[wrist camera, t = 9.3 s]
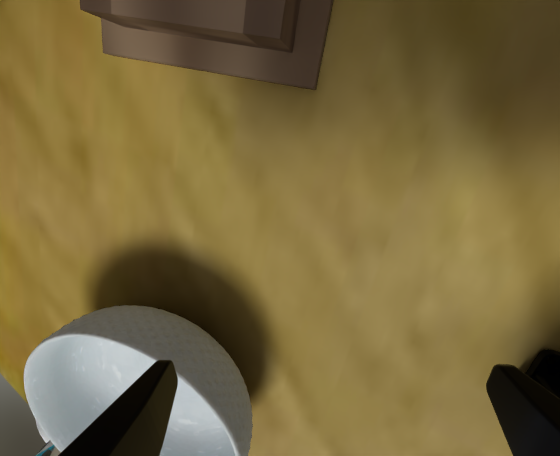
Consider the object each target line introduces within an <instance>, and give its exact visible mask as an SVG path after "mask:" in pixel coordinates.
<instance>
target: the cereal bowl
mask: <svg viewBox="0 0 560 456" xmlns="http://www.w3.org/2000/svg"><path fill="white" fill-rule="evenodd" d="M158 360H171V361H172V362H173V364H174V367H175V370H176V374H177V377H178V386H177V390H176V394H175V398H174V403H173V407H172V411H171V415H170V419H169V423H168V427H167V431H166V435H165V439H164V442H163V446H162V449H161V452H160V455H159V456H248V452H249V449H250V441H251V438H252V427H253V426H252V425H253V424H252V406H251V403H250V398H249V394H248V391H247V387H246V385H245V383H244V379H243V377H242V376H241V374H240V371H239V369H238V367H237V366H236V365H235V363H234V361H233V360H232V358H231V357H230V356H229V354H228V353H227V352H226V351H225V349H224V348H223V347H222V346H221V345H220V344H219V343H218V342H217V341H216V340H215V339H214V338H212V337H211V336H210V334H208V333H207V332H206V331H204V330H202V329H201V328H200V327H199V326H197V325H196V324H194V323H192V322H190V321H188V320H186V319H185V318H182V317H180V316H178V315H176V314H173V313H170V312H167V311H165V310H162V309H157V308H153V307H147V306H137V305H132V306H128V305H123V306H113V307H110V308H103V309H101V310H96V311H93V312H92V313H90V314H87V315H83V316H82V317H80V318H78V319H75V320H73V321H72V322H71V323H69V324H67V325H65V326H63V327H62V328H61V329H60V330H58V331H56V332H55V333H53V334H52V335H50V336H49V337H48V338H46V339H44V340H43V341H42V342H41V343H40V344H39V345H38V346H37V347H36V348H35V349H34V351H33V352H32V353H31V354H30V356H29V358H28V360H27V362H26V366H25V370H24V388H25V393H26V397H27V401H28V403H29V406H30V408H31V410H32V413H33V415H34V417H35V419H36V421H37V422H38V424H39V426H40V427H41V429H42V430H43V431H44V433H45V434H46V436H47V437H48V438H49V439H50V441H51V442H52V443H53V444H54V446H55V447H56V448H57V449H58V450H59V451H60V452H62V451H63V450H64V449H65V448H66V447H67V446H68V445H69V444H70V443H71V442H72V441H73V440H75V439H76V438H77V437H78V436H79V435H80V434H81V433H82V432H83V431H84V430H85V429H86V428H87V427H88V426H89V425H90V424H91V423H92V422H93V421H94V420H95V419H96V418H97V417H98V416H100V415H101V414H102V413H103V412H104V411H105V410H106V409H107V408H108V407H109V406H110V405H111V404H112V403H113V402H114V401H115V400H116V399H117V398H118V397H119V396H120V395H121V394H122V393H123V392H125V391H126V390H127V389H128V388H129V387H130V386H131V385H132V384H133V383H134V382H135V381H136V380H137V379H138V378H139V377H140V376H141V375H142V374H143V373H144V372H145V371H146V370H147V369H148V368H150V367H151V366H152V365H153V364H154V363H155V362H156V361H158Z"/></svg>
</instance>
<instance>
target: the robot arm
mask: <svg viewBox="0 0 560 456" xmlns="http://www.w3.org/2000/svg"><path fill="white" fill-rule="evenodd" d="M550 357H552V358H550ZM548 358H550V359H548ZM177 386H178V377H177V374H176V370H175V367H174V364H173V362H172V361H171V360H158V361H156V362H155V363H154V364H153V365H152V366H151V367H150V368H148V369H147V370H146V371H145V372H144V373H143V374H142V375H141V376H140V377H139V378H138V379H137V380H136V381H135V382H134V383H133V384H132V385H131V386H130V387H129V388H128V389H127V390H126V391H125V392H123V393H122V394H121V395H120V396H119V397H118V398H117V399H116V400H115V401H114V402H113V403H112V404H111V405H110V406H109V407H108V408H107V409H106V410H105V411H104V412H103V413H102V414H101V415H100V416H98V417H97V418H96V419H95V420H94V421H93V422H92V423H91V424H90V425H89V426H88V427H87V428H86V429H85V430H84V431H83V432H82V433H81V434H80V435H79V436H78V437H77V438H76V439H75V440H73V441H72V442H71V443H70V444H69V445H68V446H67V447H66V448H65V449H64V450H63V451H62V452H61V453H60V454H59V455H58V456H159V455H160V452H161V449H162V446H163V442H164V439H165V435H166V431H167V427H168V423H169V419H170V415H171V411H172V407H173V403H174V398H175V394H176V390H177ZM486 389H487V393H488V395H489V398H490V400H491V403H492V405H493V408H494V410H495V413H496V415H497V418H498V420H499V423H500V425H501V427H502V430H503V432H504V435H505V437H506V440H507V442H508V445H509V447H510V449H511V452H512V454H513V456H560V352H558V351H554V350H549V349H548V350H543V351H541V352H540V353H539V354H538V356H537V358H536V359H535V361H534V362H533V364H532V365H531V367H530V368H529V370H528V371H527V373H526V374H525V373H523V372H522V371H521V370H519V369H518V368H516V367H515V366H513V365H508V364H497V365H495V366H494V367H493V369H492V371H491V374H490V376H489V378H488V381H487V383H486Z"/></svg>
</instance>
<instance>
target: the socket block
mask: <svg viewBox="0 0 560 456" xmlns="http://www.w3.org/2000/svg"><path fill="white" fill-rule="evenodd" d="M332 5H333V0H80V9H81V10H83V11H85V12H88V13H90V14H93V15H95V16H98V17H100V18H101V23H102V42H103V53H105V54H109V55H113V56H118V57H124V58H130V59H136V60H142V61H148V62H154V63H159V64H165V65H171V66H177V67H183V68H189V69H195V70H201V71H207V72H212V73H218V74H224V75H230V76H236V77H242V78H248V79H254V80H259V81H265V82H271V83H277V84H283V85H289V86H295V87H301V88H306V89H312V90H316V87H317V82H318V77H319V72H320V66H321V61H322V56H323V51H324V46H325V41H326V35H327V30H328V25H329V20H330V15H331V10H332Z"/></svg>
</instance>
